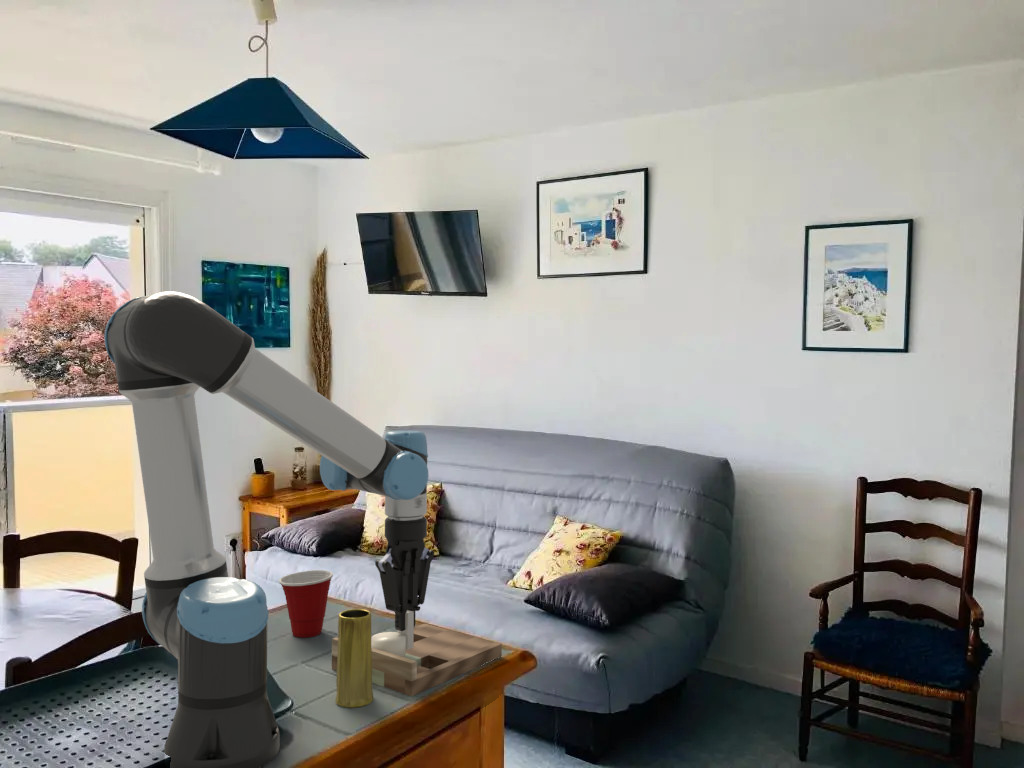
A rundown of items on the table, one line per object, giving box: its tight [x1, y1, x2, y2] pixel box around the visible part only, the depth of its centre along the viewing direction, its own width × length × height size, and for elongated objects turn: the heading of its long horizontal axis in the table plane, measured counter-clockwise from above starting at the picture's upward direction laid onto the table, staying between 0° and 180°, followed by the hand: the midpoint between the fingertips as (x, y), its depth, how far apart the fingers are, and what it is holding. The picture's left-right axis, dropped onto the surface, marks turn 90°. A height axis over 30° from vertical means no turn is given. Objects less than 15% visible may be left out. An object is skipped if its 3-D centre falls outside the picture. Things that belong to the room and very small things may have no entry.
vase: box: [334, 608, 375, 709], centre depth 132 cm, size 6×6×14 cm
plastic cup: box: [278, 569, 334, 639], centre depth 166 cm, size 11×11×12 cm
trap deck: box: [331, 623, 503, 697], centre depth 150 cm, size 24×20×6 cm
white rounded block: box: [371, 631, 406, 658], centre depth 144 cm, size 6×6×4 cm
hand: (405, 646), depth 147 cm, fingers closed
